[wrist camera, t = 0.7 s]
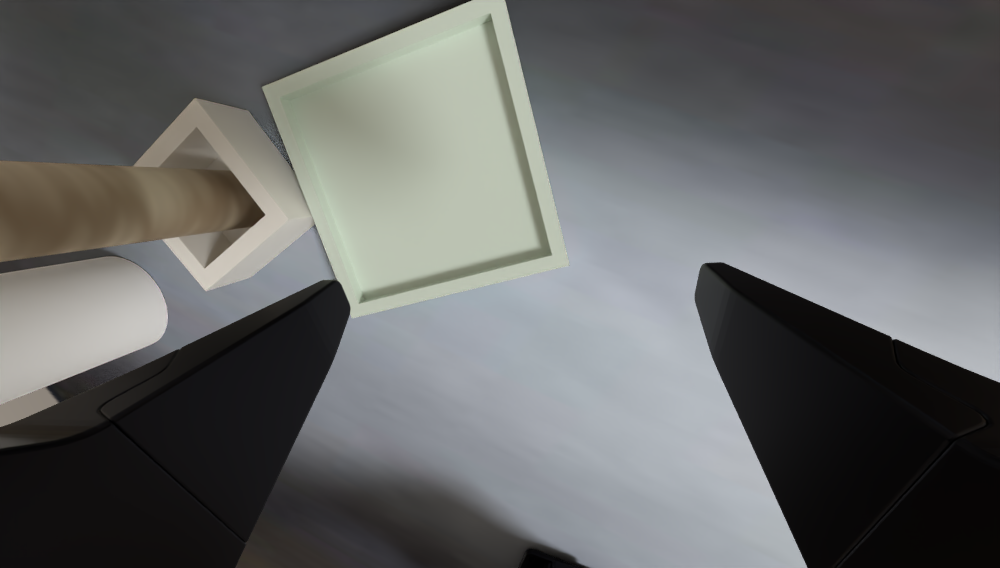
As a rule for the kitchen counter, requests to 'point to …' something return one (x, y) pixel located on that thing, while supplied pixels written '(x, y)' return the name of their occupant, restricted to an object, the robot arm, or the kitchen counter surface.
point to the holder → (260, 169)
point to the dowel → (113, 206)
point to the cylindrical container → (73, 320)
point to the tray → (422, 161)
